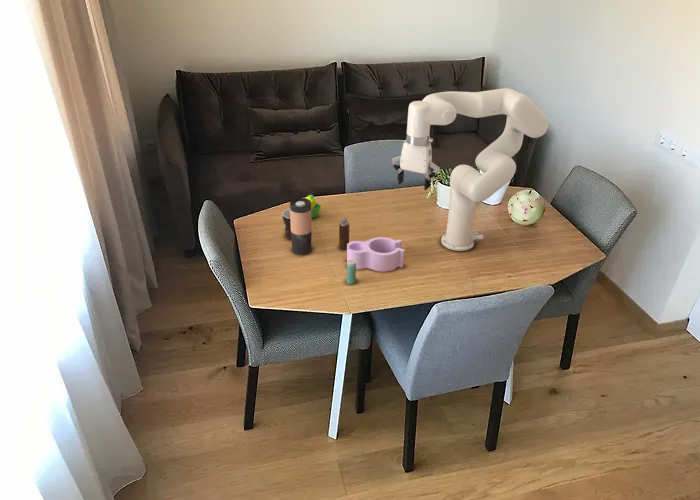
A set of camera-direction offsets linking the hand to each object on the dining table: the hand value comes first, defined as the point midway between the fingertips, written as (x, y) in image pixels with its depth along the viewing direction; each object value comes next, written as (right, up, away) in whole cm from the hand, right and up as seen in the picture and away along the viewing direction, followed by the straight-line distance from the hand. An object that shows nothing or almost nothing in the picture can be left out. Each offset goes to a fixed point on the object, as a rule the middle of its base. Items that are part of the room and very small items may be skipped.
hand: (413, 185), depth 206 cm
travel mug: (-40, -23, +15) cm, 49 cm away
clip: (-13, -27, +9) cm, 32 cm away
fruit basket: (-40, -9, +37) cm, 55 cm away
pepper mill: (-24, -21, +17) cm, 37 cm away
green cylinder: (-22, -33, -2) cm, 40 cm away
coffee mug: (-44, -16, +25) cm, 53 cm away
